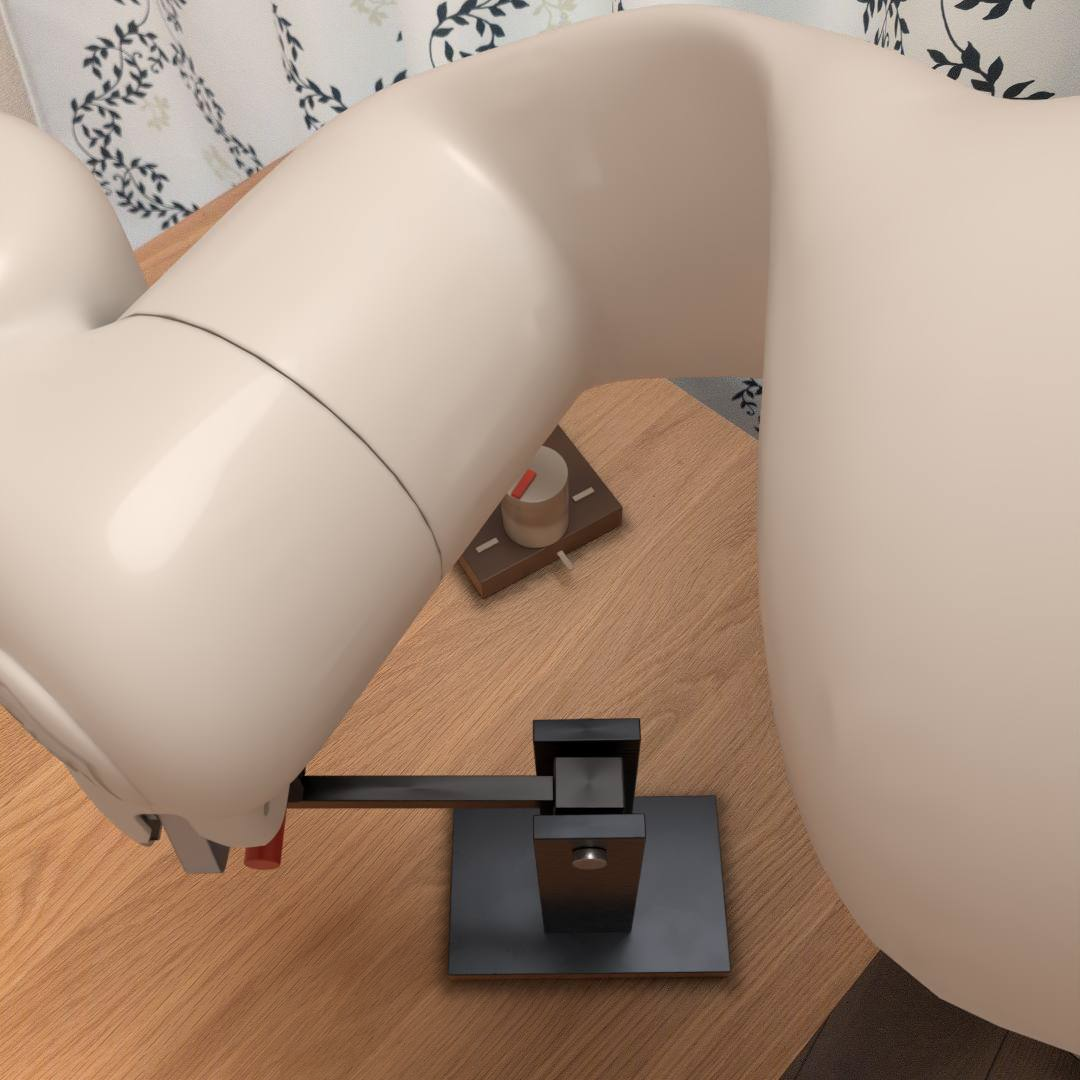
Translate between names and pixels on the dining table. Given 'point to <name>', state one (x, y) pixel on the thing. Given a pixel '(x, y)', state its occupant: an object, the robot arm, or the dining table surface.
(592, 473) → the dial panel
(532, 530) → the dial
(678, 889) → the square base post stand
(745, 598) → the dining table surface
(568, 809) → the lever
